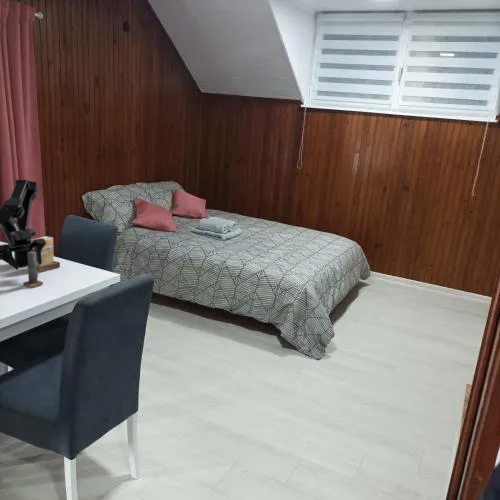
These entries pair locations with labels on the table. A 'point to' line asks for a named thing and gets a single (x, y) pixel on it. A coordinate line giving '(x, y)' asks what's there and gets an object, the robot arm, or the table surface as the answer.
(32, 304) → the table surface
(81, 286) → the table surface
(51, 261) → the supplement box
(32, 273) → the grey knob lever
